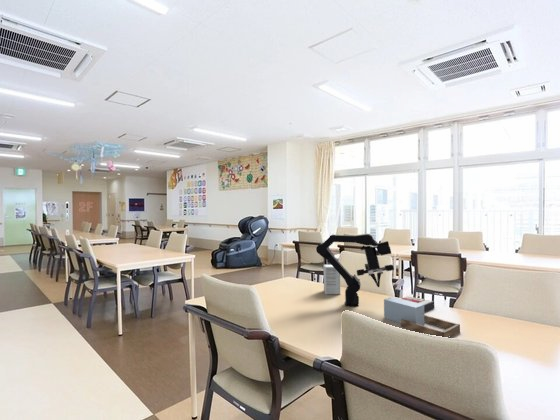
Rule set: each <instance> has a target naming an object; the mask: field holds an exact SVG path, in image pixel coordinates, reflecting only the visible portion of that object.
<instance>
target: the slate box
mask: <svg viewBox="0 0 560 420" xmlns="http://www.w3.org/2000/svg"><path fill="white" fill-rule="evenodd" d="M424 315H425V313H424V304H420V303H416V302H412V301H408V300H404V299H401V298H399V297H395V296H391V297H387V298H385V299H383V317H384V319H387V320H389V321H393V322H396V323H399V324H401V319H404V320H407V321H410V322H413V323H417V324H420V325H423V326H425V322H424Z"/></svg>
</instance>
